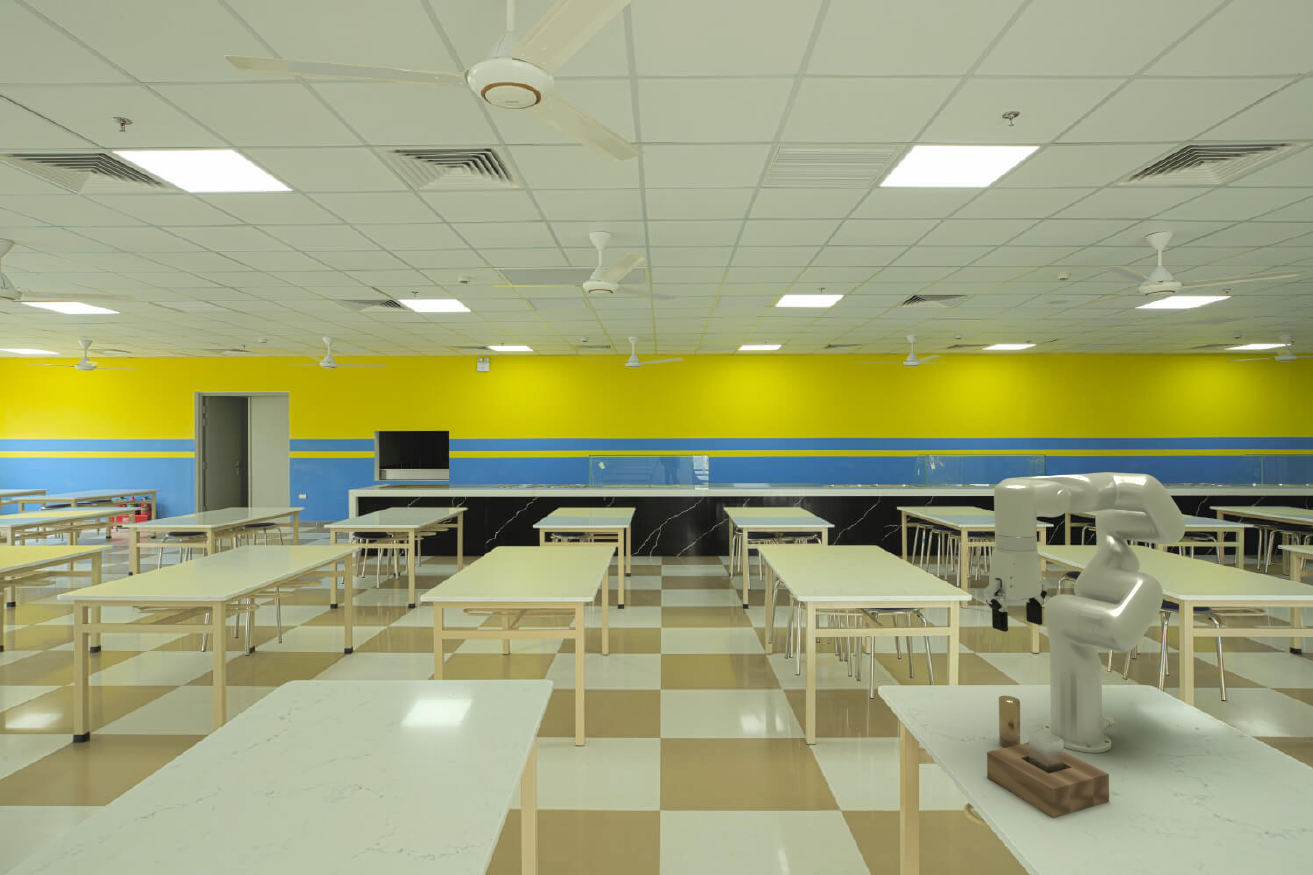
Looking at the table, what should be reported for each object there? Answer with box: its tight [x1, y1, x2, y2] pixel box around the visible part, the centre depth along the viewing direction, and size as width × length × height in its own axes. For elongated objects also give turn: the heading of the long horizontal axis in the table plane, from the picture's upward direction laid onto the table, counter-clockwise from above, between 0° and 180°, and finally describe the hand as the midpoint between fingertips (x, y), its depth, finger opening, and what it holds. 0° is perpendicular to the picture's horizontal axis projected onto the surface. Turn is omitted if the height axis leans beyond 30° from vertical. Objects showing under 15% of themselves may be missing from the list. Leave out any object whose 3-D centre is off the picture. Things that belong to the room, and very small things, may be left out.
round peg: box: [998, 695, 1021, 749], centre depth 137 cm, size 4×4×10 cm
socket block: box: [986, 741, 1110, 818], centre depth 121 cm, size 14×14×5 cm
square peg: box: [1028, 729, 1064, 773], centre depth 121 cm, size 4×4×10 cm
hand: (1017, 626), depth 131 cm, fingers open, 9 cm apart
